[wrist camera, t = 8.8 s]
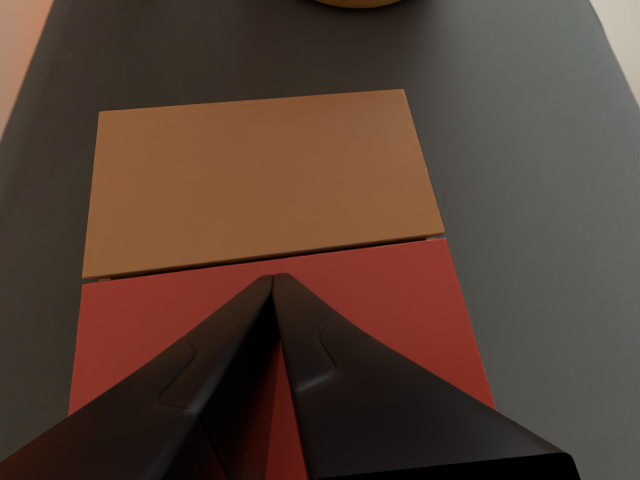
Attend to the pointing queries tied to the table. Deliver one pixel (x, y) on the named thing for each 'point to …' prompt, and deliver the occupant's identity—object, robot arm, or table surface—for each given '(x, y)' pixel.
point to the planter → (358, 3)
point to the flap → (328, 284)
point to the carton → (254, 183)
